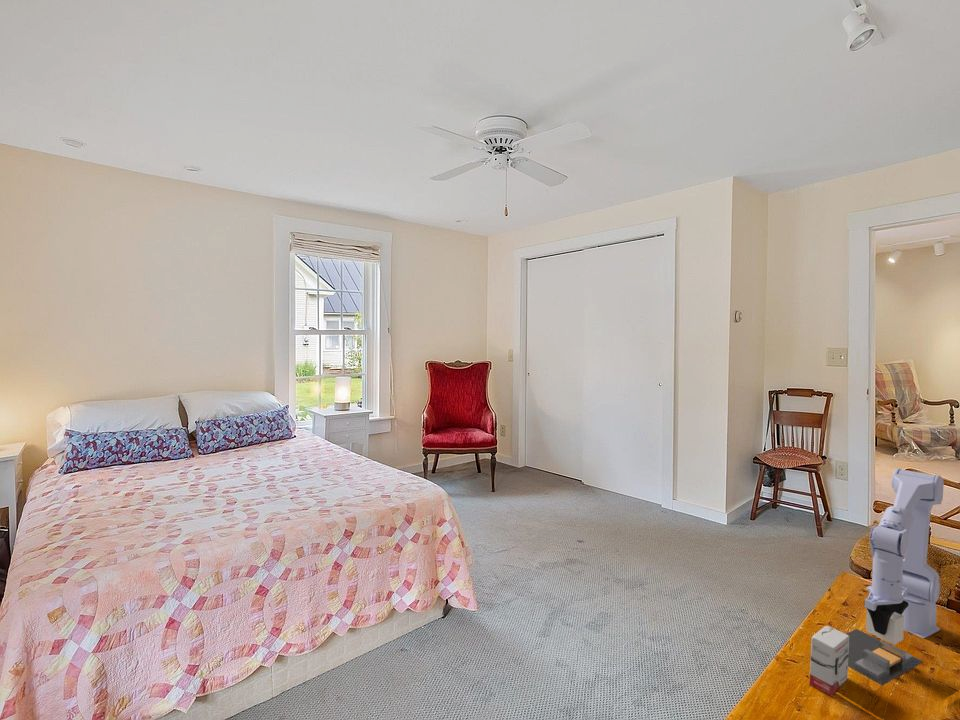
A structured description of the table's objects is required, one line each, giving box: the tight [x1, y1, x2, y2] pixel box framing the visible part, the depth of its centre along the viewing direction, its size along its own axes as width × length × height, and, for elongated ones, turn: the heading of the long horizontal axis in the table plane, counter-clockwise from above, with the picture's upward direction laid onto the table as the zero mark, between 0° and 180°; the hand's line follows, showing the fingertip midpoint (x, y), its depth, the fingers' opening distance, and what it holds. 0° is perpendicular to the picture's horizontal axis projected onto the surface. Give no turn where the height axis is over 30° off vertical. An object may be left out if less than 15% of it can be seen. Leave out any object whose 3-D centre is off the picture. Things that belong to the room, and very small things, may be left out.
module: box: [865, 609, 905, 645], centre depth 124 cm, size 4×6×6 cm, turn 25°
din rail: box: [846, 628, 924, 686], centre depth 127 cm, size 18×15×4 cm
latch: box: [872, 648, 901, 667], centre depth 124 cm, size 5×5×1 cm
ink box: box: [808, 625, 849, 697], centre depth 118 cm, size 8×5×12 cm, turn 123°
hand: (885, 630), depth 124 cm, fingers closed on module, 4 cm apart
